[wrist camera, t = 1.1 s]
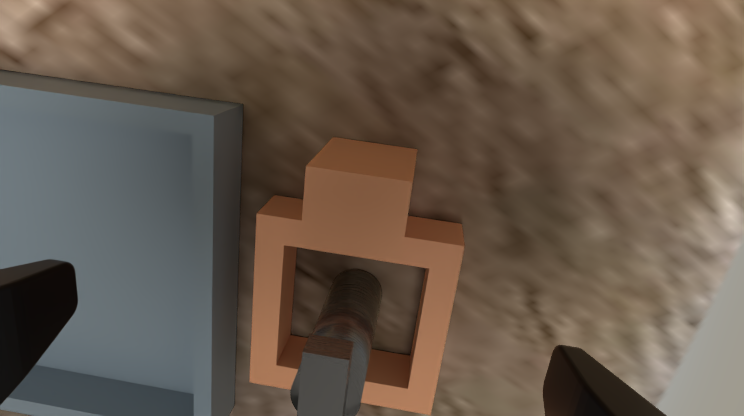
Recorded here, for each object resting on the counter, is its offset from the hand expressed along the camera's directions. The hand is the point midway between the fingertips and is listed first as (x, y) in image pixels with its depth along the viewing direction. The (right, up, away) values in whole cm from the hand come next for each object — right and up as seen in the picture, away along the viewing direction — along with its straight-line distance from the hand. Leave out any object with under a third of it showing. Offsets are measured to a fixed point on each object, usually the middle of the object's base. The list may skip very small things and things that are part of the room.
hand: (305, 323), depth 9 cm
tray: (-11, +1, +11) cm, 16 cm away
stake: (+1, -1, +10) cm, 11 cm away
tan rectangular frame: (+1, 0, +10) cm, 10 cm away
